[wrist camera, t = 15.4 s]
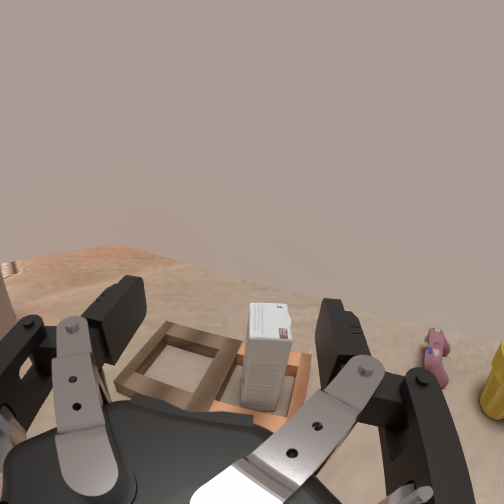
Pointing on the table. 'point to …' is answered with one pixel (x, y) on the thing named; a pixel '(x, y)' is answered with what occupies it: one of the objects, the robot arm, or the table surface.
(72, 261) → the table surface
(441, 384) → the video game controller
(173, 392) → the brown flat frame
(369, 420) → the robot arm
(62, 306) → the table surface
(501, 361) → the plant pot
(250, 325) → the skincare box
